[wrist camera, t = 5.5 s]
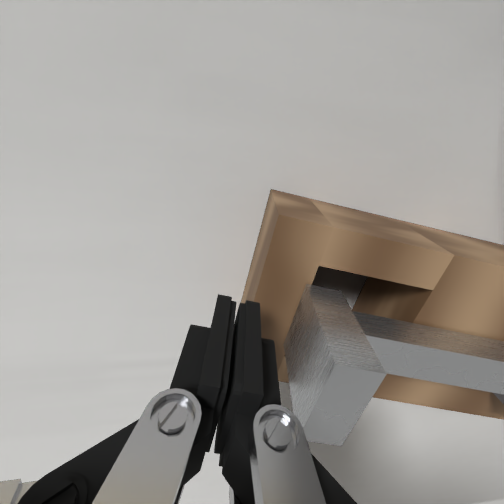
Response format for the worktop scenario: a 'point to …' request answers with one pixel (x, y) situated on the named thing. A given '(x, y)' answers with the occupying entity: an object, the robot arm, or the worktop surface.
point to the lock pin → (371, 361)
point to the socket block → (381, 283)
